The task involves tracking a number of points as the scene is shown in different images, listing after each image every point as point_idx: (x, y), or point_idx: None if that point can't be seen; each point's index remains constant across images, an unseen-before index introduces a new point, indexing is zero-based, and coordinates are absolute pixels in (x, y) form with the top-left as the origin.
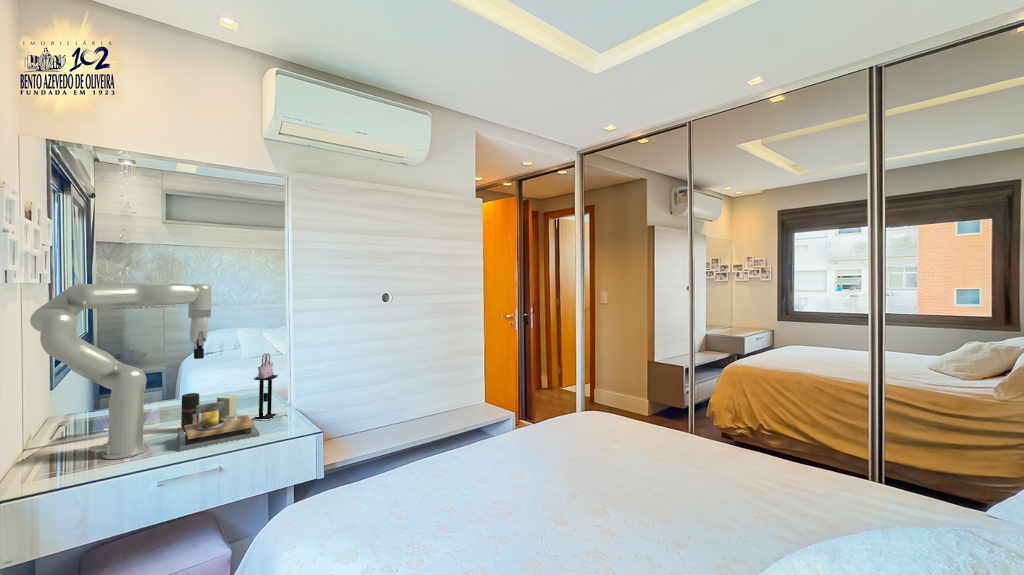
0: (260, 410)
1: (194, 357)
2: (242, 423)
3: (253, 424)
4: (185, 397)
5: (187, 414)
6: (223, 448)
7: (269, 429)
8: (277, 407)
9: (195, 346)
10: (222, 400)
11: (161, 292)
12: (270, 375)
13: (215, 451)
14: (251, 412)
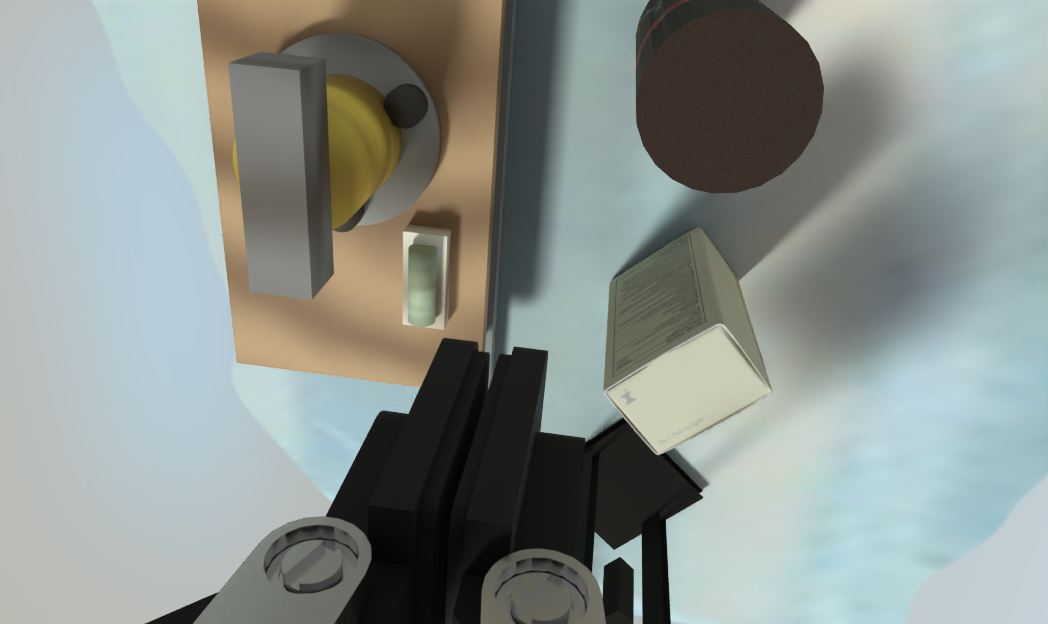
0: (581, 491)
1: (440, 356)
2: (294, 316)
3: (236, 358)
4: (669, 36)
5: (646, 29)
6: (161, 132)
7: (367, 422)
8: (792, 600)
9: (222, 606)
10: (662, 341)
11: None
12: None
13: (129, 81)
14: (812, 465)
